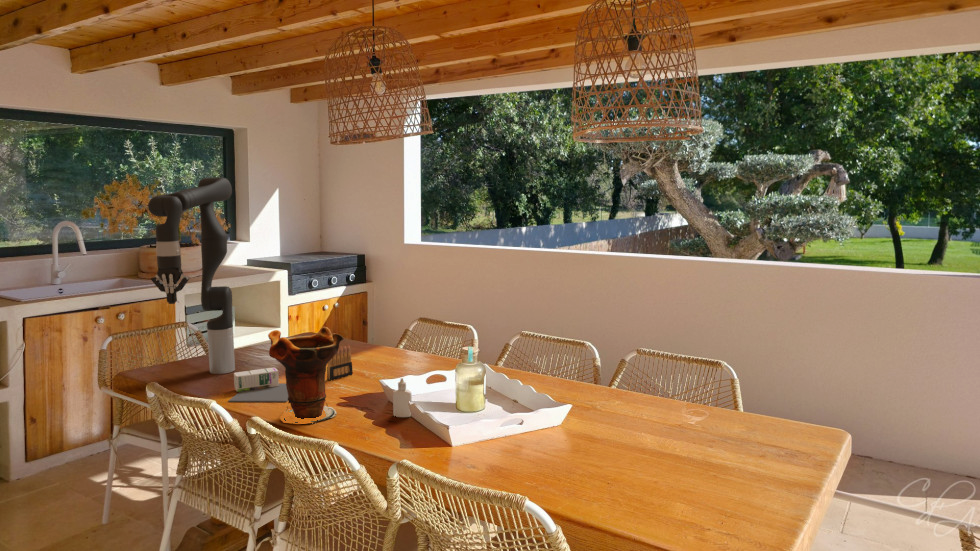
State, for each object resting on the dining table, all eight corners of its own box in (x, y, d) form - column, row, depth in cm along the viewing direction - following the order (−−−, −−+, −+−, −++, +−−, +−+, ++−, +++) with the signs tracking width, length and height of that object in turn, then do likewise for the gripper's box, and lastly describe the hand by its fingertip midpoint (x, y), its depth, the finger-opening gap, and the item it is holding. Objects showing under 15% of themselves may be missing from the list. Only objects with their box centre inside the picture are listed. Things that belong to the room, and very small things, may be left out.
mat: (250, 384, 246) (250, 383, 246) (303, 384, 245) (303, 383, 245) (228, 402, 226) (228, 400, 226) (286, 402, 225) (286, 400, 225)
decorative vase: (360, 412, 213) (353, 326, 209) (293, 434, 198) (284, 342, 193) (325, 398, 228) (318, 317, 224) (261, 418, 213) (252, 331, 208)
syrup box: (236, 376, 234) (278, 370, 241) (233, 372, 239) (275, 367, 246) (236, 392, 235) (279, 386, 242) (234, 388, 240) (276, 382, 247)
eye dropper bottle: (400, 412, 215) (399, 375, 213) (414, 415, 212) (413, 378, 210) (391, 416, 211) (390, 378, 210) (404, 419, 208) (403, 381, 207)
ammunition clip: (330, 380, 250) (329, 349, 249) (327, 380, 251) (325, 348, 250) (352, 374, 258) (351, 343, 257) (349, 373, 260) (348, 343, 258)
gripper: (192, 253, 237) (195, 301, 240) (155, 253, 238) (158, 301, 240) (182, 255, 230) (185, 305, 232) (144, 255, 230) (147, 305, 233)
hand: (172, 303), depth 236 cm, fingers closed
